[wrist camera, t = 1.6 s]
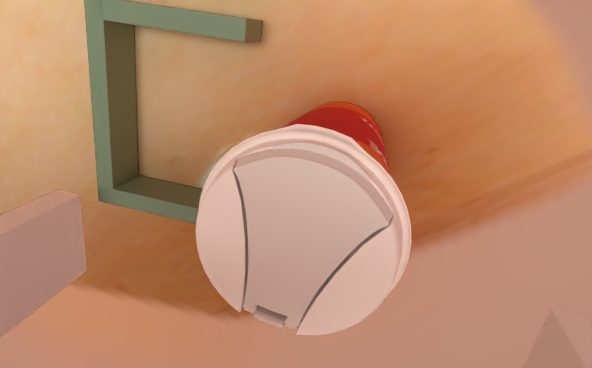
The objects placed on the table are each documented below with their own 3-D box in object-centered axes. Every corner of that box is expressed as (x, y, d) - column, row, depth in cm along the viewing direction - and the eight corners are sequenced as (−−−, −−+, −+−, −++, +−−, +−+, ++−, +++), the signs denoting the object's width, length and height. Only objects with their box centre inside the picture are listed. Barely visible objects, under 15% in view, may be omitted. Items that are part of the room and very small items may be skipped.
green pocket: (125, 186, 30) (98, 200, 27) (116, -1, 25) (83, -6, 22) (244, 213, 28) (229, 231, 26) (262, 20, 23) (246, 18, 21)
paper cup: (374, 212, 26) (363, 378, 13) (270, 175, 27) (167, 299, 14) (419, 104, 23) (461, 186, 10) (300, 65, 24) (203, 98, 11)
